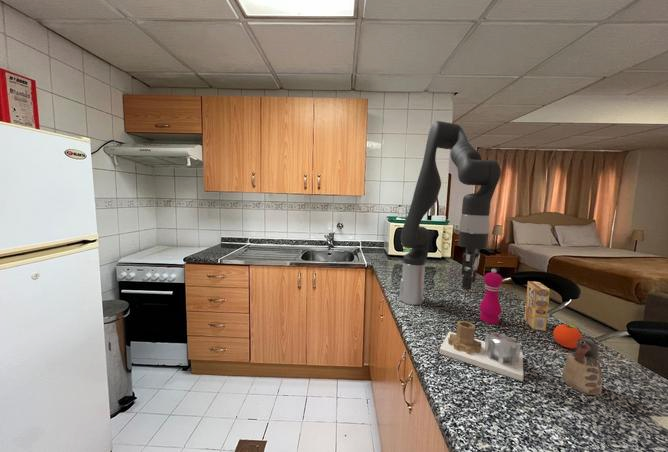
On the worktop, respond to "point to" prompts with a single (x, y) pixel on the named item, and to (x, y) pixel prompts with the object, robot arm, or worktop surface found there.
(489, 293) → the pepper mill
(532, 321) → the candy box
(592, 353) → the figurine
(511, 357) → the sun gear
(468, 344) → the planet gear
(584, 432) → the worktop surface
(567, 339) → the clementine
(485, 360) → the carrier plate
